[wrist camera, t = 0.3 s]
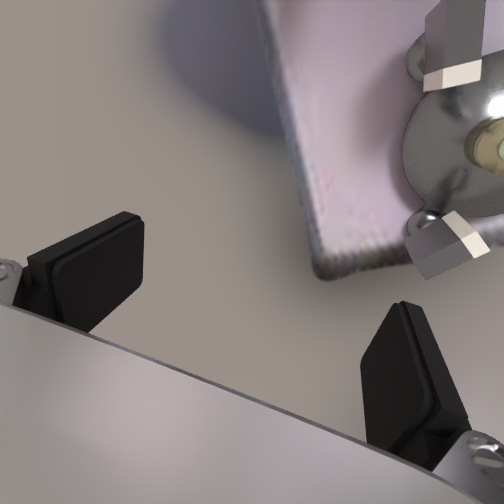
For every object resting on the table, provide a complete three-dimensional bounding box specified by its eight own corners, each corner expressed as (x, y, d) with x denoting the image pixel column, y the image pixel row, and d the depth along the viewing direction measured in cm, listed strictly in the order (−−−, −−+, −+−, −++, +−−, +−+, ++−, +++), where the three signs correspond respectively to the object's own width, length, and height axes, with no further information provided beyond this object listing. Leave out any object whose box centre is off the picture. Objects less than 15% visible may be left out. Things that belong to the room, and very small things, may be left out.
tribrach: (425, 16, 28) (447, -6, 22) (669, 93, 26) (761, 90, 20) (333, 207, 39) (332, 225, 33) (503, 272, 37) (533, 303, 31)
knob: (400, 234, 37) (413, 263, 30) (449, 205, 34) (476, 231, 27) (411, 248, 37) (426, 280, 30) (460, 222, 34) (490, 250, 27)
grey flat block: (451, 12, 27) (488, -19, 20) (447, 85, 29) (480, 80, 22) (420, 21, 27) (446, -5, 21) (419, 92, 30) (442, 88, 23)
